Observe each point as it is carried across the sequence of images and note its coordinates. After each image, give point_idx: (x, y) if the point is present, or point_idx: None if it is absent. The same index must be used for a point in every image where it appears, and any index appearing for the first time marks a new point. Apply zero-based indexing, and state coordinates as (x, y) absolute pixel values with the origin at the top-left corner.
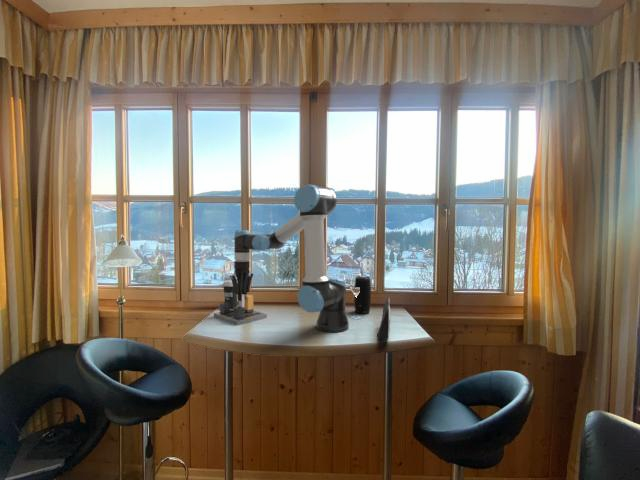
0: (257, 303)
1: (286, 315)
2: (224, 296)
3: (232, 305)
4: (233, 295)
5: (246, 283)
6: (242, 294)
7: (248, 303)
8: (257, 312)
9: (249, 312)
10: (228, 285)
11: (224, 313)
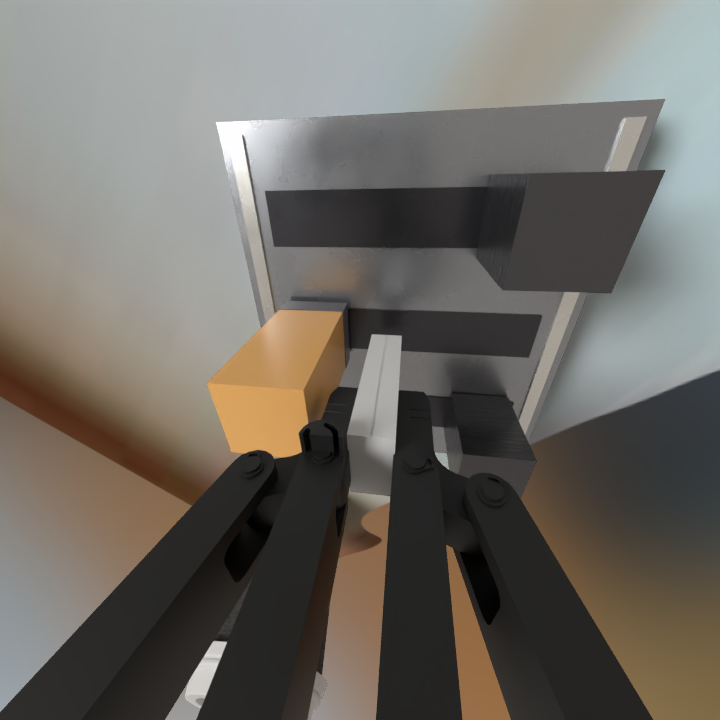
0: (161, 466)
1: (25, 51)
2: None
3: None
4: None
5: (173, 683)
6: (373, 452)
7: (317, 341)
8: (268, 255)
9: None
10: None
11: (504, 400)
